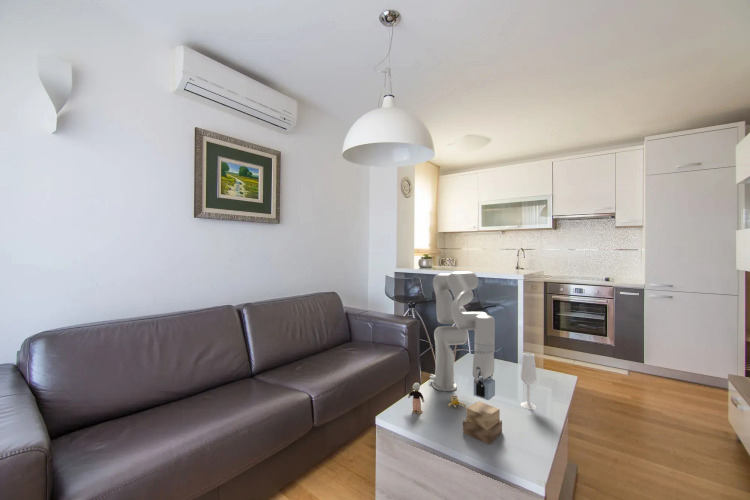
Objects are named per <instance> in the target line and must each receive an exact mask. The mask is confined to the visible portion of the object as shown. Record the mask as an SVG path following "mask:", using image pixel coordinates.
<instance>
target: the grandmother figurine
mask: <svg viewBox="0 0 750 500" xmlns="http://www.w3.org/2000/svg"><path fill="white" fill-rule="evenodd" d="M411 388H412V389H413V390H412V391H410V392H409V393H408V396H407V399H410V398H411V397H412V413H414V414H416V413H417V414H418V415H421V414H423V410H422V405H421V404H422V403H425V399H424V395H423V394H422V393H421V392H420V388H421V384H420V383H419V382H414V384H413V385H412V387H411ZM421 402H422V403H421Z"/></svg>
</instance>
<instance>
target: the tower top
mask: <svg viewBox="0 0 750 500" xmlns="http://www.w3.org/2000/svg"><path fill="white" fill-rule="evenodd" d="M500 411H501V410H500V408H497V407H494V405H493V406H492V405H490V404H487V403H485V402H482V401H480V400H478V401H476V402H474V403H472V404H470V405H469V406H466V411H465V412H466V415H465V416H466V418H465V419H466V420H467V421H469V422H471V423H473V424H475V425H477V426H479V427H481V428H484V429H486V430H488V429H490V428H491V427H493V426H494V425H496V424H497V423H499V422H500V420H501V419H500Z"/></svg>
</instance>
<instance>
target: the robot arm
mask: <svg viewBox="0 0 750 500" xmlns="http://www.w3.org/2000/svg"><path fill="white" fill-rule="evenodd" d="M478 278H479V277H478V276H477V275H476V274H475V273H474V272H472V271H453V272H450V273H438V274H436V275H434V276H433V279H432V287H433V291H434V293H435V300H436V304H435V305H436V307H435V309H436V320H437V322H438V323H439V324H441V325H442V324H443V325H444V326H437V327H436V328H435V329H434V331H433V337H434V345H435V373H434V374H433V373H430V375H429V379H430V380H433V381H432V383H431V384H432V388H434V389H436V390H438V391H441V392H453V391H456V389H458V388H457V386H458V385H457V383H455V376H454V375H455V353H454V351H453V349H452V348H451V347H450V346H455V345H456V346H457V345H465V344H466V343H467V342H468V337H469V332H468V331H474V345H473V346H474V347H473V348H474V352H473V353H474V354H473V361H472V376H473V382H474V381H475V383H476V395H478V396H481V397H485V387H484V381H485V379H486V378H489V379H493V376H494V373H495V350H496V349H495V348H496V347H495V345H496V344H495V342H496V341H495V339H496V337H495V335H496V334H495V333H496V330H495V326H496V323H495V321H496V320H495V318H494V316H492V315H488V314H487V312H484V311H467V310H466V308H465V307H464V306H465V305H468V304H469V303H470V302H471V301H473V299H474V292H473V291H472V290H476V289H477V287H479V279H478ZM450 291H451V292H450ZM451 293H452V294H451ZM452 295H453V296H452ZM453 298H454V299H453ZM449 324H450V325H449ZM480 376H482V378H481V377H480ZM479 379H482V383H481V381H479ZM493 380H494V379H493Z"/></svg>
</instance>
